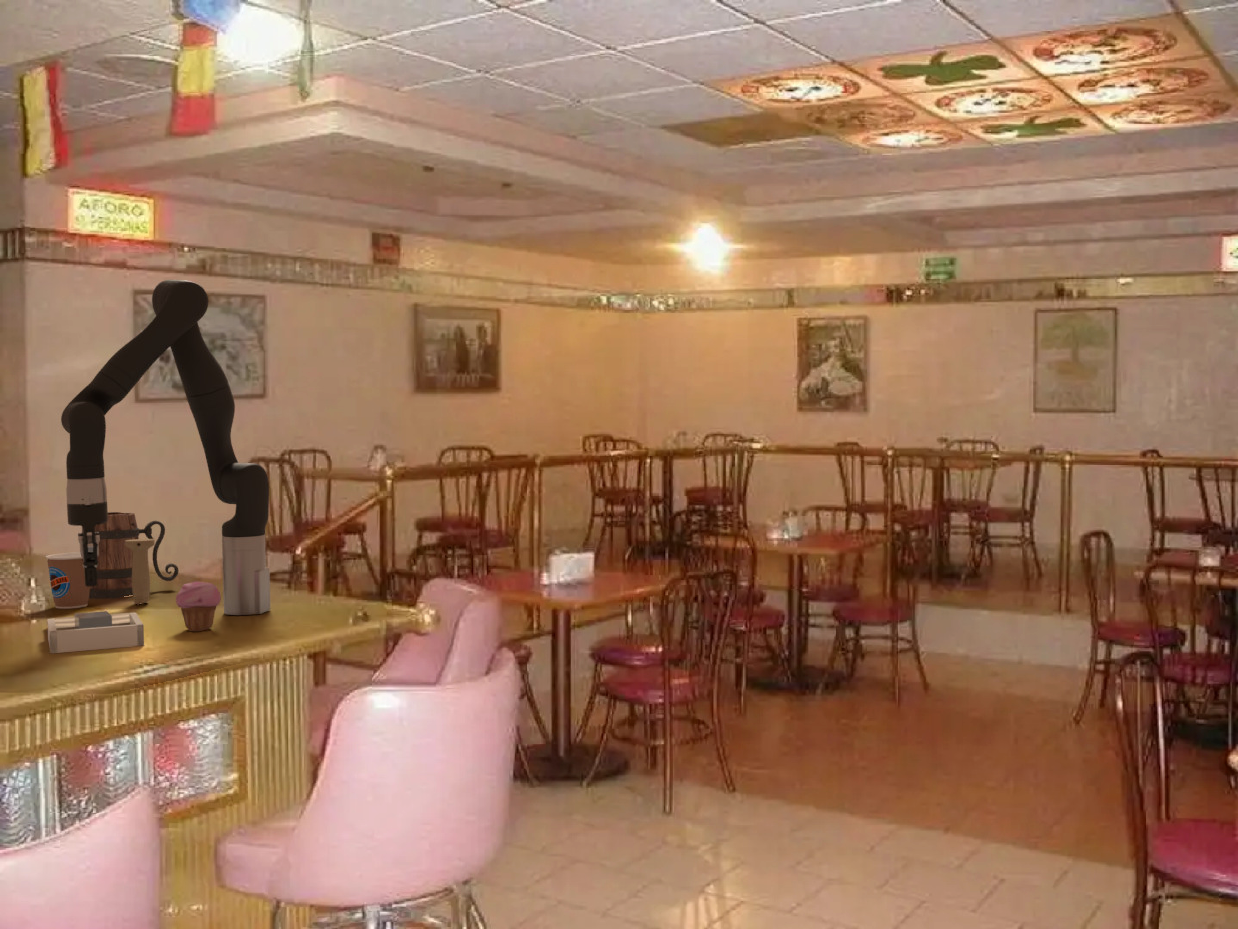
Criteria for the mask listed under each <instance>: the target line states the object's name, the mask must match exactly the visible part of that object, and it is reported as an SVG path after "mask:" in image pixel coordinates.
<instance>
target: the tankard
mask: <svg viewBox="0 0 1238 929" xmlns="http://www.w3.org/2000/svg"><path fill="white" fill-rule="evenodd" d="M155 525H158V526H159V527H160V532H159V534H158V537H157V539H156V541H155V542H154V545H153V548H152V549H153V550H152V565H153V567H154V572H155V573H156V574H157V576H158V577H159V578H160V579H161V580H163V581H165V582H171V581H174V580H175V579H176V578H177V576H178V575H179V567H178V566H177V565H176V564H175V563H168V564H166V565H165V568H164V570H165V572H166V573H167V574H168V575H171V576H168V577H167V576H164V575H163V574H162V573H161V570H160V567H159V564H158V550H159V547H160V545H161V544H162V541H163V539H164V537H165V533H166V527H165V524H164V523H162V522H161V521H160V520H152V521H150V522H148V523H147V524H146V525H145V526H144V528H139V527H138V523H137V518H136V515H135V513H133V512H121V511H120V512H116V511H114V512H112V511H110V512H108V522H107V523H104V524H97V525H96V526H95V532H99V534H100V542H99V555H98V556H97V561H98V566H97V567H96V571H97V585H96V586H90V592H89V600H110V599H111V600H112V599H121V598H120V597H124V596H129V595H133V590H132V559H133V554H132V550H131V549H130V548H128V547H126V546H125V540H133V539H140V537H139V536H140V534H145V536H146V539H154V536H152V533H153V530H152V529H153V528H152V527H153V526H155ZM170 568H174V571H173V574H172V571H169V569H170Z"/></svg>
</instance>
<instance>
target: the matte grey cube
mask: <svg viewBox="0 0 1238 929" xmlns="http://www.w3.org/2000/svg"><path fill="white" fill-rule="evenodd" d="M73 614H74V617H75V629H84V628H97V627H109V626H112V616H111V615H110V614H111V613H109V612H108V611H107V610H103V611H93V612H92V611H91V612H80V613H79V612H78V613H73Z"/></svg>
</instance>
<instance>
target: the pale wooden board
mask: <svg viewBox="0 0 1238 929" xmlns="http://www.w3.org/2000/svg"><path fill="white" fill-rule="evenodd" d="M129 613H130V612H121V613H109V614H110V615H111V616H112V626H122V625H130V618H129ZM53 618H54V617H52V618H51V617H50V618H46V621H47V622H46V624H47V626H48V619H53ZM54 620H55V625H56V630H57V631H58V630H71V629H75V616H65V617H55V618H54ZM47 626H46V627H47Z"/></svg>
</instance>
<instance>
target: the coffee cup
mask: <svg viewBox="0 0 1238 929" xmlns="http://www.w3.org/2000/svg"><path fill="white" fill-rule="evenodd" d="M45 558H46V559H47V567H48V574H49V582H50V587H51V588H50V589H51V595H52V597H53V598H52V599H53V603H54V606H55V608H56V609H61V610H62V609H65V610H67V609H69V610H70V609H79V608H85V607H87V606H88V604H89V600H90V599H89V592H90V586H89V587H87V586H86V585H85V572H84V567H83V561H82V559H83V557H81V554H80V552H64V553H61V552H60V553H54V554H48V555H45Z"/></svg>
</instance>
